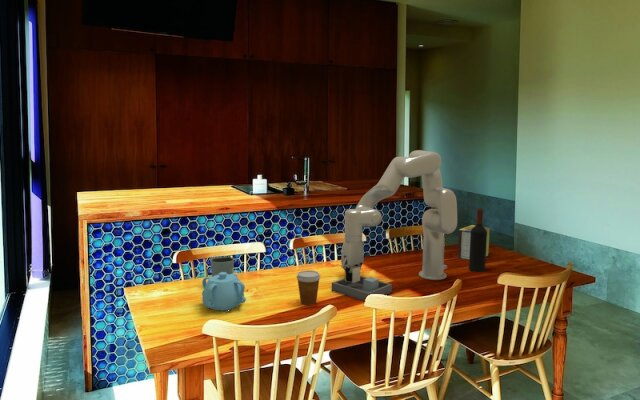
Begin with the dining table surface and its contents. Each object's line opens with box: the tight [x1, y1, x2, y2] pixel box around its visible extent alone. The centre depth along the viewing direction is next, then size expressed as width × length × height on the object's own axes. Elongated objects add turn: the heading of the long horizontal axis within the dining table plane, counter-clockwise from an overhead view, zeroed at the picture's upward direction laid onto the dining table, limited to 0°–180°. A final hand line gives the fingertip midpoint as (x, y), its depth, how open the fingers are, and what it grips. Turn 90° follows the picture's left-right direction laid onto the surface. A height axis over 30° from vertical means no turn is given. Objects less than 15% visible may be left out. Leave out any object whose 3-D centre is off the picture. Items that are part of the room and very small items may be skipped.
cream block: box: [344, 265, 361, 283], centre depth 227 cm, size 4×4×6 cm
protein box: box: [457, 224, 491, 261], centre depth 279 cm, size 10×15×16 cm
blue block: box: [363, 276, 380, 292], centre depth 220 cm, size 4×4×6 cm
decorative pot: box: [201, 272, 247, 312], centre depth 206 cm, size 16×16×14 cm
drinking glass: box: [209, 256, 235, 277], centre depth 231 cm, size 10×10×12 cm
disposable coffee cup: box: [296, 270, 321, 306], centre depth 210 cm, size 10×10×12 cm
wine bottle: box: [468, 208, 487, 273], centre depth 254 cm, size 8×8×30 cm
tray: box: [331, 275, 393, 302], centre depth 224 cm, size 16×20×4 cm
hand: (352, 279), depth 227 cm, fingers closed on cream block, 4 cm apart
